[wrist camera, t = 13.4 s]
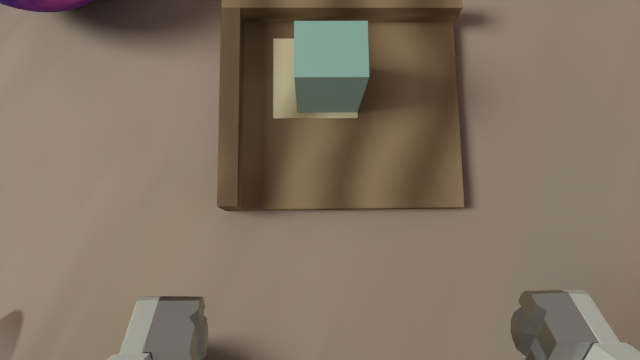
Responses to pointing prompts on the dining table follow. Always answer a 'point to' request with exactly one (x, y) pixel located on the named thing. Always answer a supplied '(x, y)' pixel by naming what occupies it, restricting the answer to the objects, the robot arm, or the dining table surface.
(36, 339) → the dining table surface
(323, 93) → the teal block
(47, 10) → the decorative orb
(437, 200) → the tray
